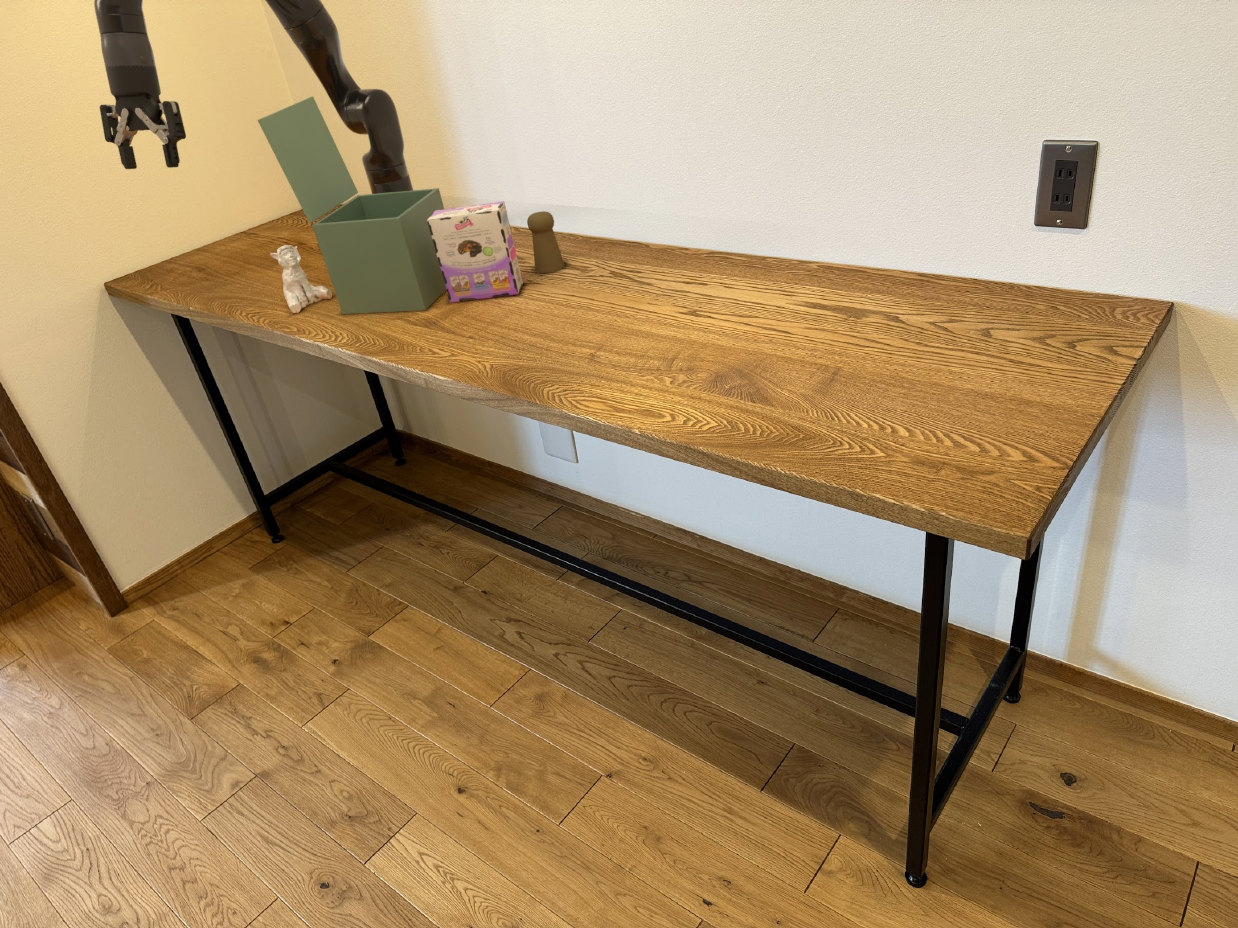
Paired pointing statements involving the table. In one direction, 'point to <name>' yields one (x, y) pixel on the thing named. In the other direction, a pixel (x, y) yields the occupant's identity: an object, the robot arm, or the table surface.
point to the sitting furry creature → (297, 280)
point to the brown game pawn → (544, 243)
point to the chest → (383, 252)
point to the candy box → (476, 251)
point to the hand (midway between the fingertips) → (151, 168)
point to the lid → (309, 157)
